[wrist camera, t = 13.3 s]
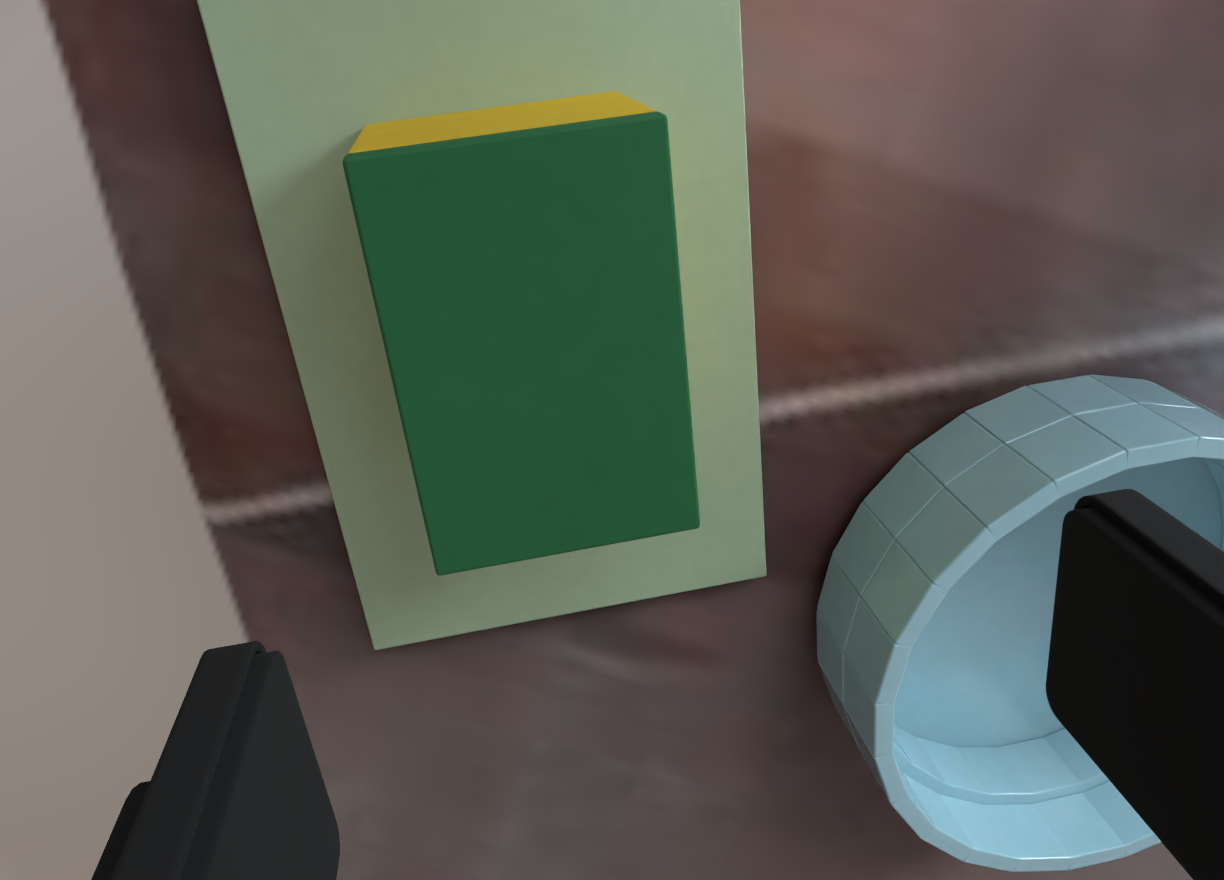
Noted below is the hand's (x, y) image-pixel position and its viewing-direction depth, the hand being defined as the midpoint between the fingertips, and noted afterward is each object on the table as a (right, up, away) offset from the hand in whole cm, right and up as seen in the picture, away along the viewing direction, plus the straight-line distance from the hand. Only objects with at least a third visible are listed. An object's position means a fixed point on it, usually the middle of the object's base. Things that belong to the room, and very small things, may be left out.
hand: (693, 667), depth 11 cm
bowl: (+13, -2, +20) cm, 24 cm away
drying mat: (-3, +7, +13) cm, 15 cm away
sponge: (-3, +7, +13) cm, 15 cm away
